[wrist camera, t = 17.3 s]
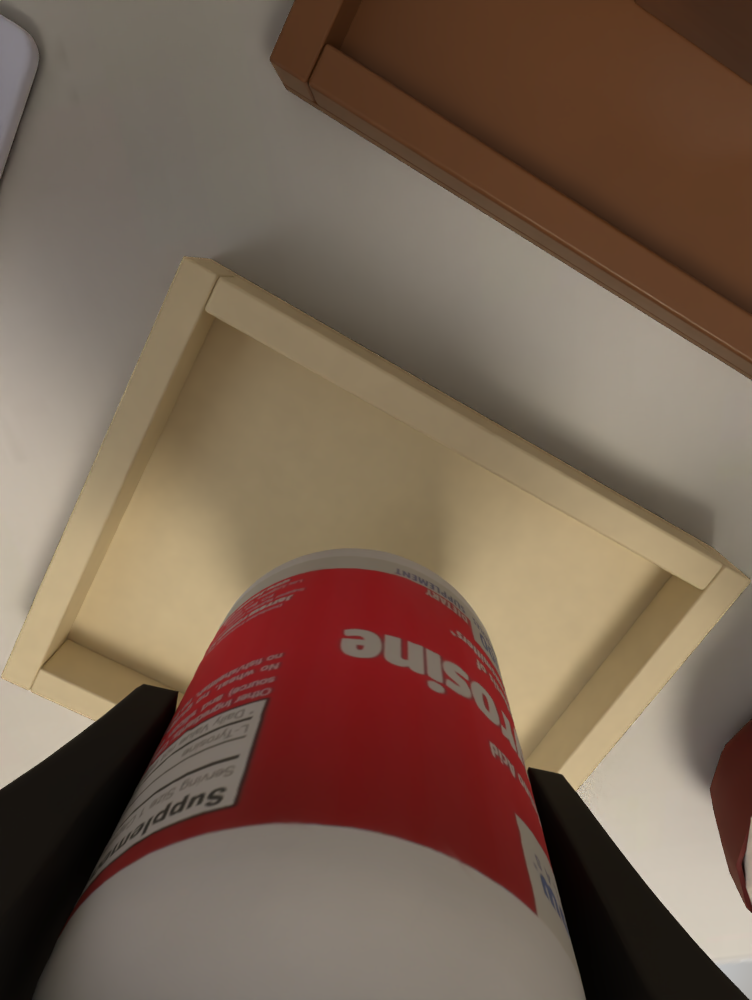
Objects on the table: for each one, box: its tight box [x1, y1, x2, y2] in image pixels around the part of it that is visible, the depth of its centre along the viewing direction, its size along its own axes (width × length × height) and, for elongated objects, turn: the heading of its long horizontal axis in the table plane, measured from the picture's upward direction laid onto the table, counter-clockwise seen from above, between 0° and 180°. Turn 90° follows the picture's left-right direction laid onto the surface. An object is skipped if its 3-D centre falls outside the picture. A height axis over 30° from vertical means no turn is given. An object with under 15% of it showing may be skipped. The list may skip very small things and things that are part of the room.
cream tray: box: [1, 256, 751, 791], centre depth 17 cm, size 15×12×2 cm
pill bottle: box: [32, 548, 586, 1000], centre depth 9 cm, size 6×6×11 cm
